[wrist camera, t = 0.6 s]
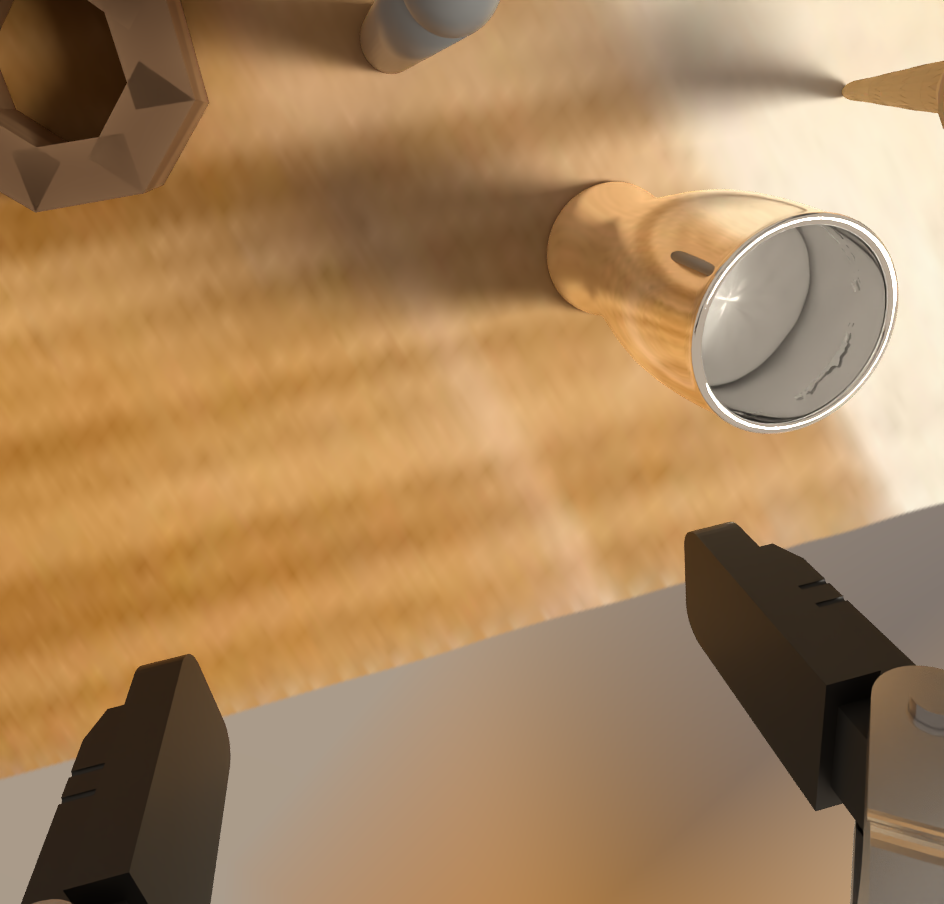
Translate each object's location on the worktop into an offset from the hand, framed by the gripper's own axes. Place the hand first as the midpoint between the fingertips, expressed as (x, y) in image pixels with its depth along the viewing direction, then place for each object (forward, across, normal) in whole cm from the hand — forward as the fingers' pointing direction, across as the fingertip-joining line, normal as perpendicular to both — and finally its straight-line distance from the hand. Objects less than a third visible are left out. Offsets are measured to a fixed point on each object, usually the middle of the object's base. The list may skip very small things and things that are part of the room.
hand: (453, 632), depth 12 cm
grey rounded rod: (+24, -3, -10) cm, 26 cm away
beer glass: (+24, -11, 0) cm, 27 cm away
